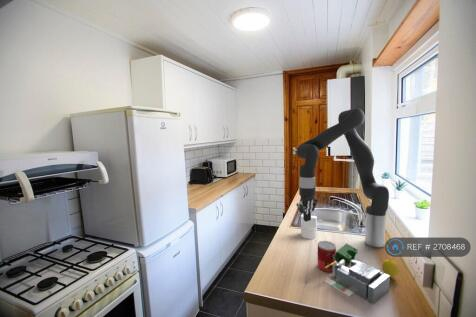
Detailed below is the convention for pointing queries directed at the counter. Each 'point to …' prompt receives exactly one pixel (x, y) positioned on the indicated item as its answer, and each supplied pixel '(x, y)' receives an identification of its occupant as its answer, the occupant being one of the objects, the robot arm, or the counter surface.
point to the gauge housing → (364, 281)
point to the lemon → (390, 267)
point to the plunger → (336, 266)
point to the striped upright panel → (339, 287)
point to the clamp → (346, 253)
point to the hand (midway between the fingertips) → (307, 220)
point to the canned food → (326, 255)
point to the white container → (309, 228)
